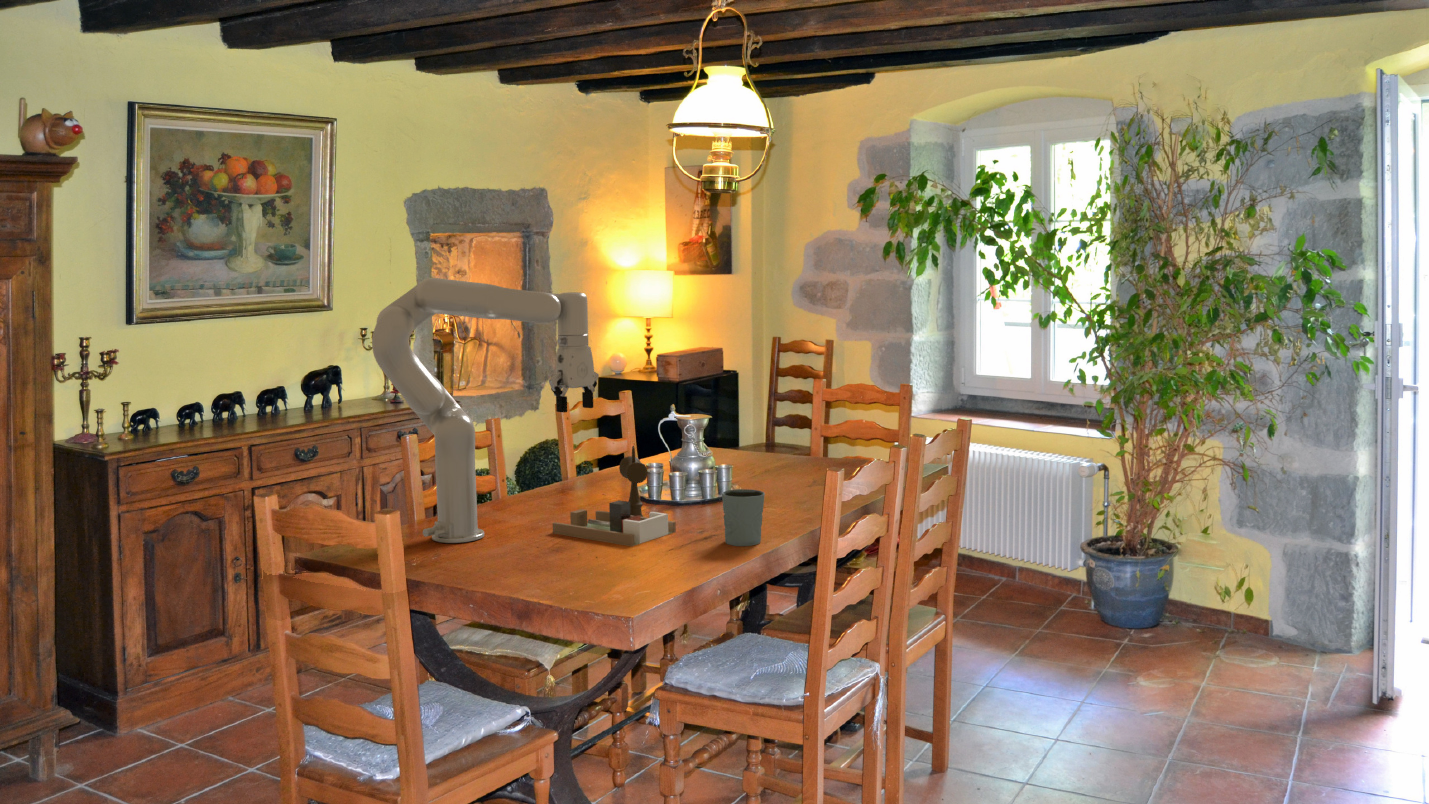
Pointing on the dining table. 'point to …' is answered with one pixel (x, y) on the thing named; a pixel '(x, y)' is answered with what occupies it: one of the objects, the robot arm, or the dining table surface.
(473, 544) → the dining table surface
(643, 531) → the open rectangular tray
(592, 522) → the block
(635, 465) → the kendama
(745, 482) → the dining table surface
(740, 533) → the grey cup
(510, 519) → the dining table surface
